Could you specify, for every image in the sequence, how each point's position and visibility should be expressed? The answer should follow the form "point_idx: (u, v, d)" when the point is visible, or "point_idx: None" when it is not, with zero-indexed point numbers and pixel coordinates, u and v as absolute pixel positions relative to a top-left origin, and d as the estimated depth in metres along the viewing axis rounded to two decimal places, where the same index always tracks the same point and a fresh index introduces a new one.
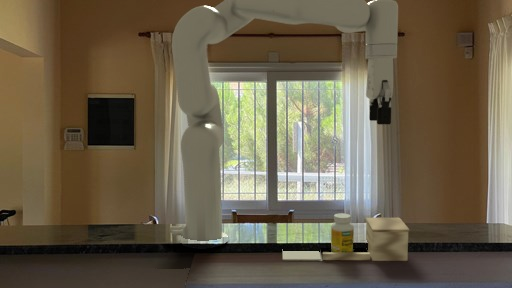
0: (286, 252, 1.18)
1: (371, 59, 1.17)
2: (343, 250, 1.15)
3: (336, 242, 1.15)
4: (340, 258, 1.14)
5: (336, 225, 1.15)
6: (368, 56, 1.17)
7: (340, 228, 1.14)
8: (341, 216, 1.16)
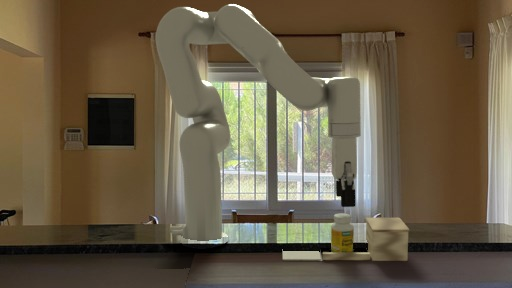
0: (286, 252, 1.18)
1: (334, 138, 1.12)
2: (343, 250, 1.15)
3: (336, 242, 1.15)
4: (340, 258, 1.14)
5: (336, 225, 1.15)
6: (330, 135, 1.12)
7: (340, 228, 1.14)
8: (341, 216, 1.16)
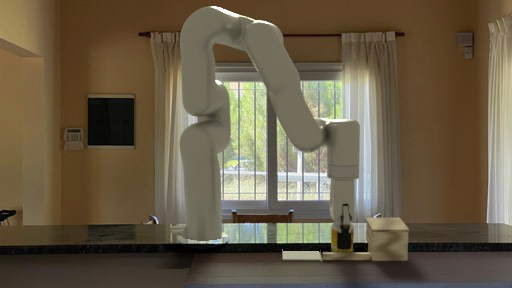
0: (286, 252, 1.18)
1: (332, 179, 1.14)
2: (343, 250, 1.15)
3: (336, 242, 1.15)
4: (340, 258, 1.14)
5: (336, 225, 1.15)
6: (329, 176, 1.14)
7: None
8: None
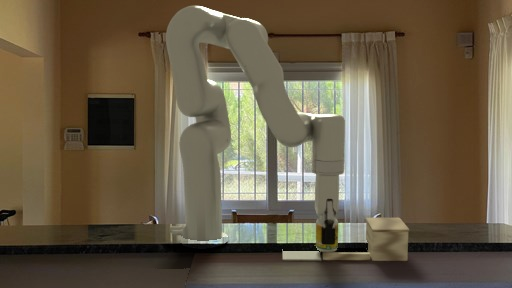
0: (286, 252, 1.18)
1: (317, 174, 1.14)
2: (327, 245, 1.15)
3: (320, 237, 1.15)
4: (340, 258, 1.14)
5: (321, 220, 1.16)
6: (314, 171, 1.14)
7: None
8: None
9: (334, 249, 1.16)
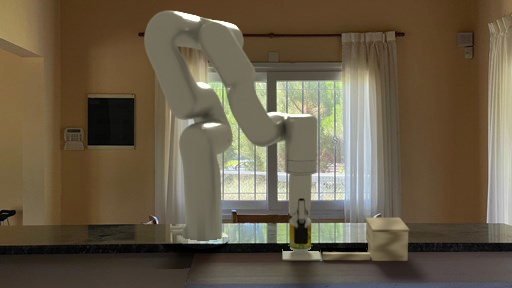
0: (286, 252, 1.18)
1: (290, 174, 1.14)
2: (300, 245, 1.15)
3: (293, 236, 1.16)
4: (340, 258, 1.14)
5: (294, 220, 1.16)
6: (286, 171, 1.14)
7: None
8: None
9: (307, 249, 1.16)
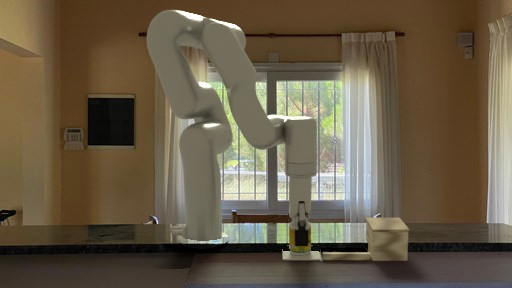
0: (286, 252, 1.18)
1: (290, 176, 1.14)
2: (300, 248, 1.15)
3: (293, 240, 1.16)
4: (340, 258, 1.14)
5: (293, 224, 1.16)
6: (286, 173, 1.14)
7: None
8: (298, 215, 1.16)
9: (307, 252, 1.16)
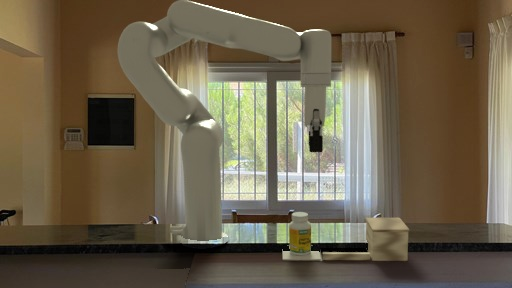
0: (286, 252, 1.18)
1: (305, 87, 1.19)
2: (300, 248, 1.15)
3: (293, 240, 1.16)
4: (340, 258, 1.14)
5: (293, 224, 1.16)
6: (302, 85, 1.19)
7: (297, 226, 1.15)
8: (298, 215, 1.16)
9: (307, 252, 1.16)
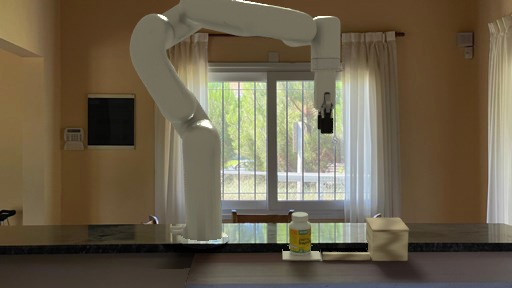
0: (286, 252, 1.18)
1: (315, 72, 1.24)
2: (300, 249, 1.15)
3: (293, 240, 1.16)
4: (340, 258, 1.14)
5: (293, 224, 1.16)
6: (312, 69, 1.24)
7: (297, 226, 1.15)
8: (298, 215, 1.16)
9: (307, 252, 1.16)
